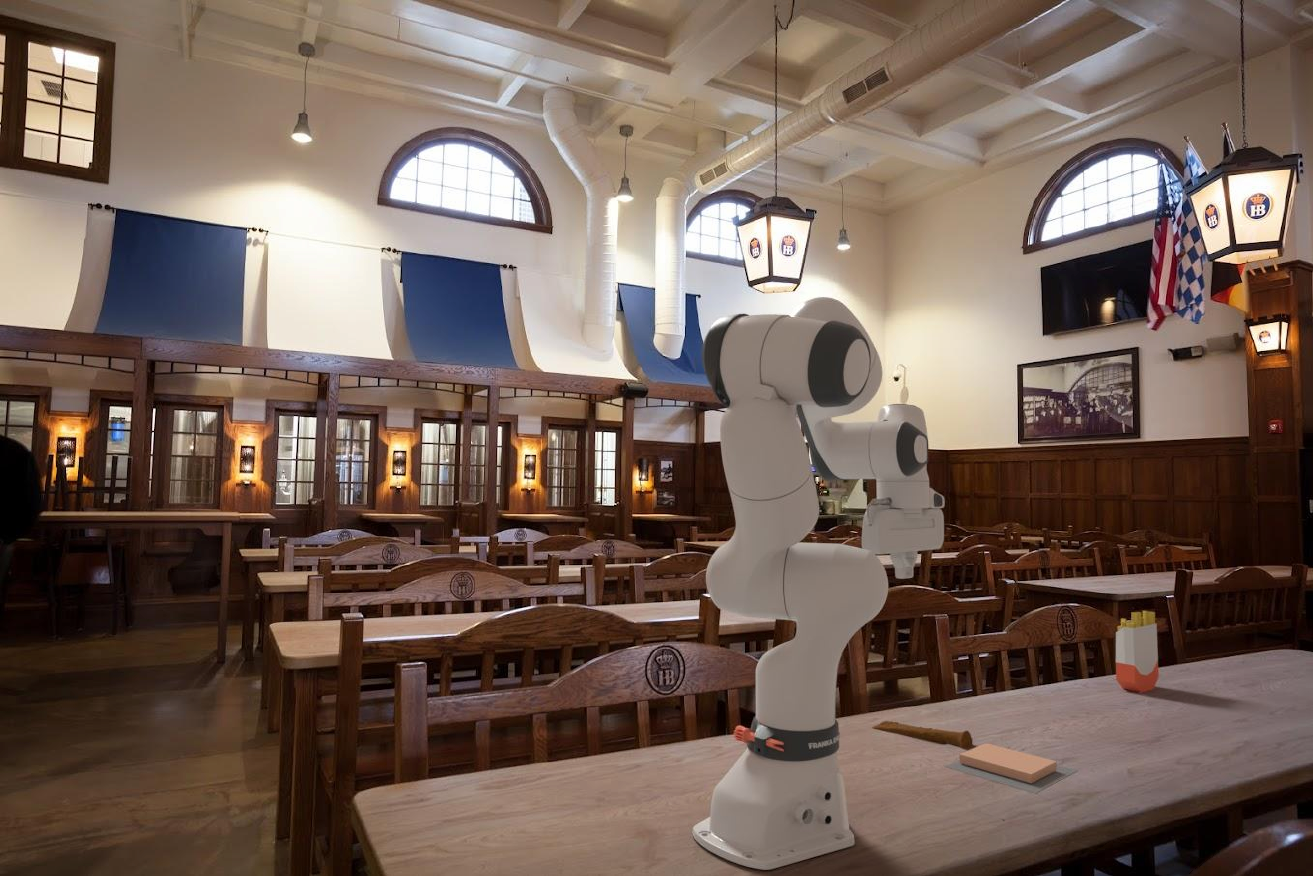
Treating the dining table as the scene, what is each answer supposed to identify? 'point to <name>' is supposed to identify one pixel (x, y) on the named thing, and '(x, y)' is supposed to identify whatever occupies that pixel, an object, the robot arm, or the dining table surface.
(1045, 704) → the dining table surface
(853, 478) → the robot arm
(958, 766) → the mat
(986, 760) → the tile
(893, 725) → the primitive tool
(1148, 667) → the french fries container
